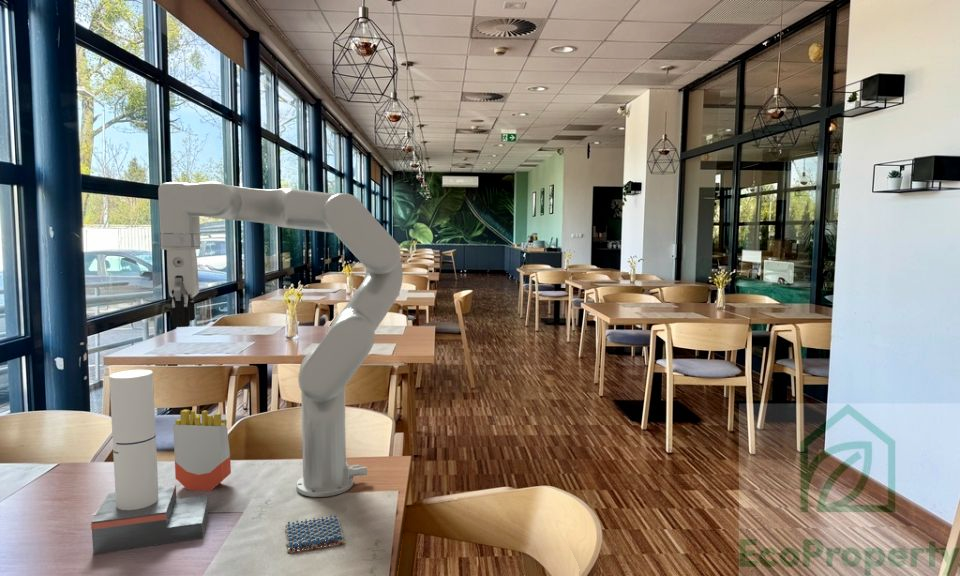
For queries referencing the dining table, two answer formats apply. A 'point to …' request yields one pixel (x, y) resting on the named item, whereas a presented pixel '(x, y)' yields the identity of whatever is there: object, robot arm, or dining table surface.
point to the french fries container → (201, 450)
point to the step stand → (149, 522)
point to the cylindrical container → (134, 439)
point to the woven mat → (314, 533)
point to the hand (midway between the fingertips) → (184, 323)
